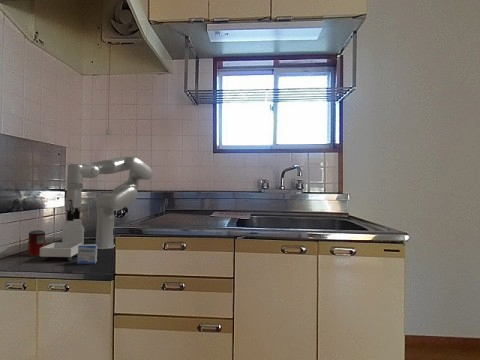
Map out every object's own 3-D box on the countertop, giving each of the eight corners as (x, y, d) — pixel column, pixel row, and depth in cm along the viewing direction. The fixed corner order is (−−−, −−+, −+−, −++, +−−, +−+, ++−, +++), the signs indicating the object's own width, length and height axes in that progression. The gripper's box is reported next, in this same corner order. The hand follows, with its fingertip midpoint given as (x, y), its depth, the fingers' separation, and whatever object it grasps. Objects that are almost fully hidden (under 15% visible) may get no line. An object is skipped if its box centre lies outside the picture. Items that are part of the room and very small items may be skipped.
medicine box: (77, 264, 148) (77, 245, 148) (78, 262, 153) (79, 244, 153) (95, 263, 150) (96, 245, 151) (96, 261, 155) (97, 243, 155)
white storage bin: (53, 254, 164) (54, 242, 164) (81, 254, 166) (82, 243, 166) (39, 261, 150) (40, 248, 150) (70, 261, 152) (71, 248, 152)
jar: (60, 247, 181) (61, 221, 181) (62, 244, 190) (63, 219, 190) (83, 246, 186) (84, 221, 186) (84, 243, 195) (85, 219, 195)
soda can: (47, 254, 165) (48, 230, 165) (35, 257, 158) (36, 232, 158) (36, 252, 167) (37, 229, 167) (24, 255, 160) (25, 231, 160)
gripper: (74, 186, 178) (72, 217, 178) (60, 186, 161) (58, 221, 161) (88, 186, 179) (86, 218, 179) (75, 187, 162) (74, 222, 162)
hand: (73, 219), depth 170 cm, fingers open, 7 cm apart
